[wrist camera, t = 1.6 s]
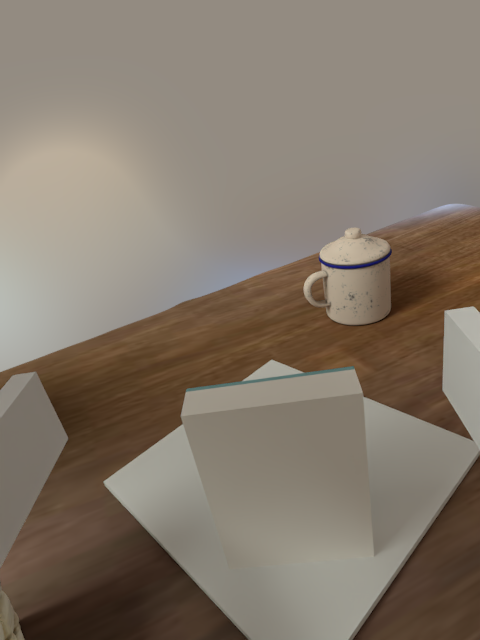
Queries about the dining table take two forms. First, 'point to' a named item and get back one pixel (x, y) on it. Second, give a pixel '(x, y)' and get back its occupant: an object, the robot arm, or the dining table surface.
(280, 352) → the dining table surface
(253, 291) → the dining table surface
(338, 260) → the teacup with lid
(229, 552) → the tile
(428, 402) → the dining table surface
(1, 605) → the storage basket
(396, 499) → the mat
